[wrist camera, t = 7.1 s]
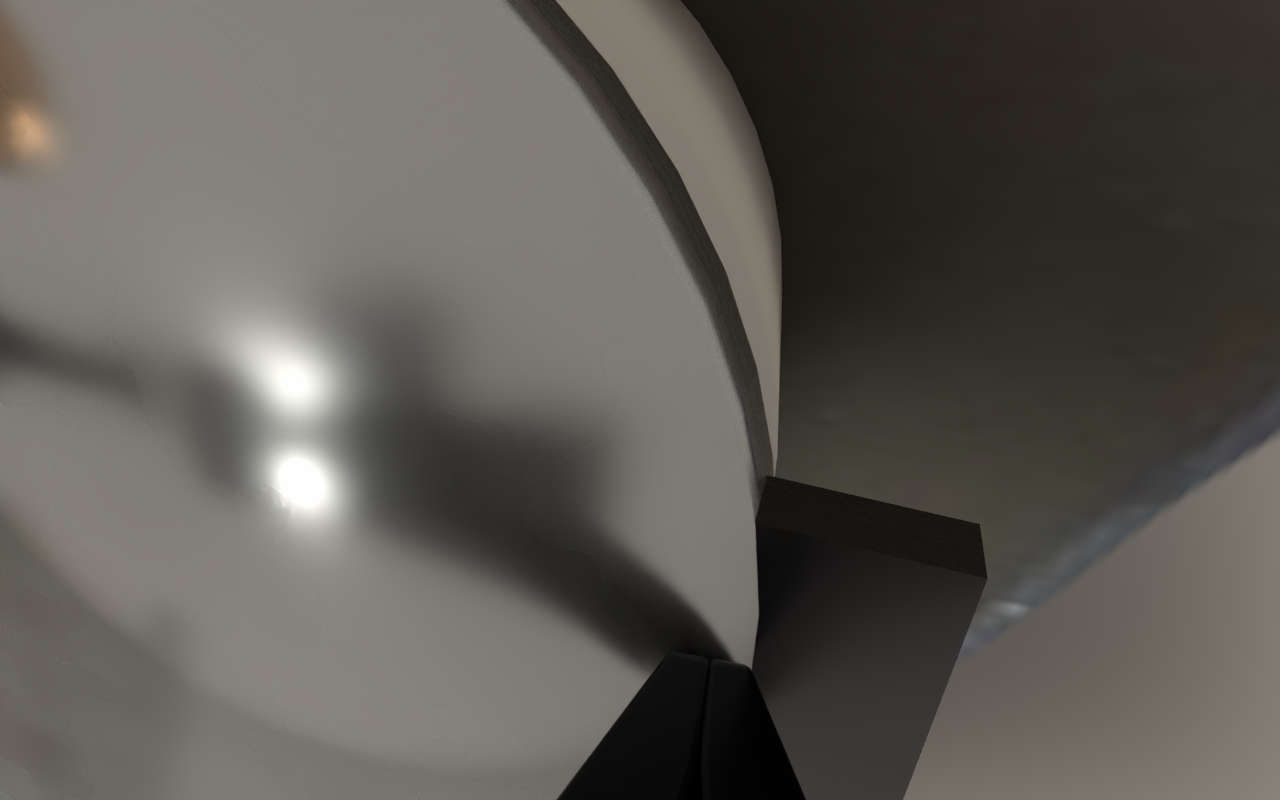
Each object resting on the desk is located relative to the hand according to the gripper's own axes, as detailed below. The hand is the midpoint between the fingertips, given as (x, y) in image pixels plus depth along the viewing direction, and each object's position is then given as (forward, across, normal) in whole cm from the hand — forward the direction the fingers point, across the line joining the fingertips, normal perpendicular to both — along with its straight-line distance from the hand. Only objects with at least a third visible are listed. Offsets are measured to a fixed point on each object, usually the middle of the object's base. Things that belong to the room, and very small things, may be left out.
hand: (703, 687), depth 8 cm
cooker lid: (+2, +6, 0) cm, 6 cm away
